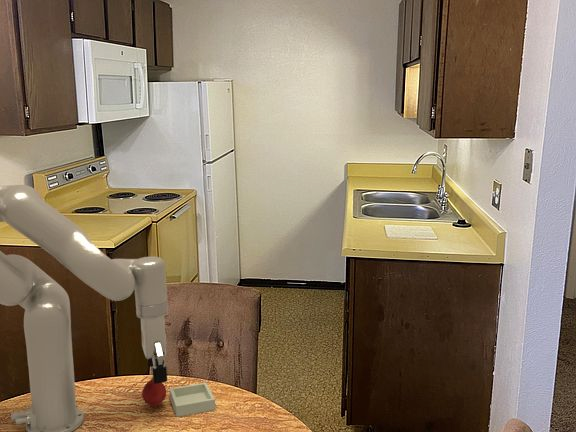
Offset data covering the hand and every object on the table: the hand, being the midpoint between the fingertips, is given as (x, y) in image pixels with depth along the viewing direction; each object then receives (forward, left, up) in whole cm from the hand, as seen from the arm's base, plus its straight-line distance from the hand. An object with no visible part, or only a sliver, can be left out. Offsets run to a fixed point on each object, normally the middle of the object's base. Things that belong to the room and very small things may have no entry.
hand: (157, 373), depth 140 cm
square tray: (+8, -2, -9) cm, 12 cm away
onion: (-1, 0, -9) cm, 9 cm away
